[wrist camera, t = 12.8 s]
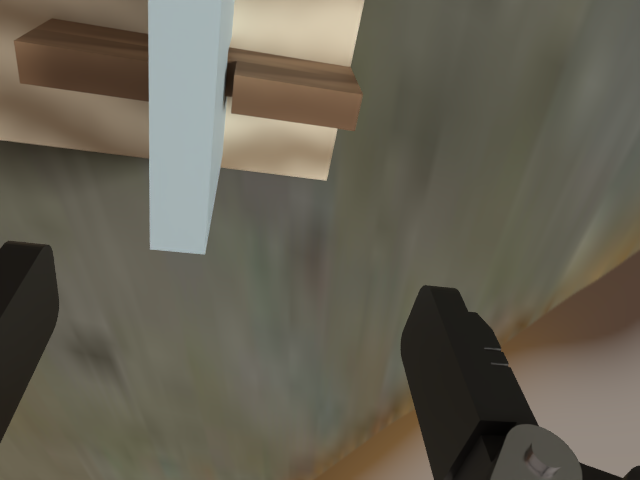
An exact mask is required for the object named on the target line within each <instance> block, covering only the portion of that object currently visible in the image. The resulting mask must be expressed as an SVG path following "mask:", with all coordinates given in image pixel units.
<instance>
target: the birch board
mask: <svg viewBox="0 0 640 480" xmlns="http://www.w3.org/2000/svg"><path fill="white" fill-rule="evenodd" d="M363 5H364V0H235V2H234V14H233V27H232V38H231V42H230V46H229V47H231V48H237V49H243V50H249V51H255V52H262V53H268V54H274V55H280V56H286V57H292V58H298V59H304V60H311V61H317V62H323V63H329V64H335V65H341V66H347V67H351V62H352V57H353V52H354V47H355V43H356V38H357V33H358V28H359V24H360V19H361V14H362V9H363ZM51 18H54V19H60V20H66V21H72V22H78V23H84V24H90V25H96V26H103V27H109V28H115V29H121V30H127V31H133V32H139V33H145V34H148V0H0V140H4V141H12V142H21V143H29V144H37V145H45V146H53V147H61V148H69V149H77V150H85V151H93V152H101V153H109V154H117V155H125V156H133V157H141V158H149V102H147V101H140V100H133V99H126V98H119V97H112V96H105V95H98V94H91V93H84V92H77V91H70V90H63V89H56V88H49V87H42V86H35V85H28V84H21V83H20V81H19V74H18V67H17V60H16V53H15V46H14V40H16V39H17V38H19V37H21V36H22V35H24V34H26V33H27V32H29V31H31V30H33V29H34V28H36V27H38V26H39V25H41V24H43V23H44V22H46V21H48V20H50V19H51ZM231 107H232V97H229V96H227V104H226V117H225V129H224V142H223V155H222V161H221V167H222V168H230V169H238V170H246V171H254V172H262V173H270V174H278V175H286V176H294V177H302V178H310V179H318V180H326V181H327V176H328V171H329V167H330V162H331V157H332V152H333V148H334V143H335V138H336V133H337V128H330V127H323V126H316V125H309V124H302V123H295V122H288V121H281V120H274V119H267V118H260V117H253V116H246V115H239V114H232V113H231Z"/></svg>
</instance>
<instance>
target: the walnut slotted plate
mask: <svg viewBox="0 0 640 480" xmlns="http://www.w3.org/2000/svg"><path fill="white" fill-rule="evenodd" d="M14 46H15V53H16V60H17V67H18V74H19V81H20V83H21V84H28V85H35V86H42V87H49V88H56V89H63V90H70V91H77V92H84V93H91V94H98V95H105V96H112V97H119V98H126V99H133V100H140V101H147V102H149V49H148V34H145V33H139V32H133V31H127V30H121V29H115V28H109V27H103V26H96V25H90V24H84V23H78V22H72V21H66V20H60V19H54V18H51V19H50V20H48V21H46V22H44V23H43V24H41V25H39V26H38V27H36V28H34V29H33V30H31V31H29V32H27V33H26V34H24V35H22V36H21V37H19V38H17V39H16V40H14ZM225 96H229V97H232V107H231V113H232V114H239V115H246V116H253V117H260V118H267V119H274V120H281V121H288V122H295V123H302V124H309V125H316V126H323V127H330V128H337V129H344V130H351V131H355V127H356V123H357V119H358V114H359V110H360V106H361V101H362V97H363V94H362V91H361V89H360V87H359V85H358V83H357V80H356V78H355V76H354V74H353V72H352V69H351V67H347V66H341V65H335V64H329V63H323V62H317V61H311V60H304V59H298V58H292V57H286V56H280V55H274V54H268V53H262V52H255V51H249V50H243V49H237V48H231V47H229V50H228V60H227V73H226V86H225Z"/></svg>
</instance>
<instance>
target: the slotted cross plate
mask: <svg viewBox="0 0 640 480" xmlns="http://www.w3.org/2000/svg"><path fill="white" fill-rule="evenodd" d="M234 2H235V0H148V49H149V178H150V249H152V250H163V251H174V252H184V253H195V254H205V251H206V246H207V240H208V234H209V229H210V223H211V218H212V212H213V206H214V201H215V195H216V189H217V184H218V178H219V172H220V167H221V161H222V155H223V142H224V129H225V117H226V104H227V96H225V86H226V73H227V60H228V50H229V46H230V42H231V38H232V27H233V14H234Z"/></svg>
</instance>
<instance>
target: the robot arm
mask: <svg viewBox="0 0 640 480" xmlns="http://www.w3.org/2000/svg"><path fill="white" fill-rule="evenodd" d="M58 311H59V296H58V289H57V281H56V273H55V265H54V257H53V251H52V248H51V247H50V245H45V244H35V243H26V242H16V241H7V242H6V243H4V245H3V246H2V247H1V249H0V443H1V440H2V438H3V436H4V434H5V432H6V430H7V428H8V426H9V424H10V421H11V419H12V417H13V415H14V413H15V411H16V409H17V407H18V405H19V402H20V400H21V398H22V396H23V394H24V392H25V390H26V388H27V385H28V383H29V381H30V379H31V377H32V375H33V373H34V371H35V369H36V366H37V364H38V362H39V360H40V358H41V356H42V354H43V352H44V350H45V347H46V345H47V343H48V341H49V339H50V337H51V335H52V333H53V330H54V328H55V325H56V322H57V317H58ZM401 357H402V361H403V365H404V369H405V372H406V376H407V380H408V384H409V387H410V391H411V395H412V399H413V402H414V406H415V410H416V414H417V417H418V421H419V424H420V428H421V432H422V436H423V440H424V443H425V447H426V451H427V455H428V458H429V462H430V466H431V470H432V473H433V477H434V480H640V466H636V467H634V468H633V469H631V471H630V472H628V473H627V475H626V476H625V477H624V478H621V477H618V476H615V475H612V474H610V473H607V472H604V471H601V470H598V469H596V468H593V467H590V466H587V465H585V464H582V463H580V462H579V461H578V459H577V457H576V456H575V454H574V453H573V451H572V450H571V449H570V448H569V446H568V445H567V444H566V443H565V442H564V441H563V440H561V439H560V438H559V437H558V436H556V435H555V434H553V433H552V432H550V431H548V430H546V429H544V428H542V427H539V425H538V424H537V421H536V419H535V417H534V415H533V413H532V411H531V409H530V407H529V405H528V403H527V401H526V399H525V397H524V394H523V392H522V390H521V388H520V386H519V384H518V382H517V380H516V378H515V376H514V374H513V372H512V369H511V368H510V367H508V361H507V359H506V357H505V355H504V353H503V352H501V347H500V344H499V342H498V340H497V338H496V336H495V334H494V332H493V330H492V329H491V328H490V327H489V326H488V324H487V323H486V322H485V321H484V320H483V319H482V318H481V317H480V316H479V315H478V314H477V313H476V312H468V310H467V308H466V306H465V303H464V301H463V299H462V297H461V294H460V292H459V291H458V290H457V289H455V288H447V287H437V286H427V285H425V286H423V287H422V288H421V289H420V291H419V293H418V296H417V298H416V300H415V303H414V305H413V308H412V310H411V313H410V315H409V318H408V320H407V323H406V325H405V327H404V330H403V333H402V337H401Z"/></svg>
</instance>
